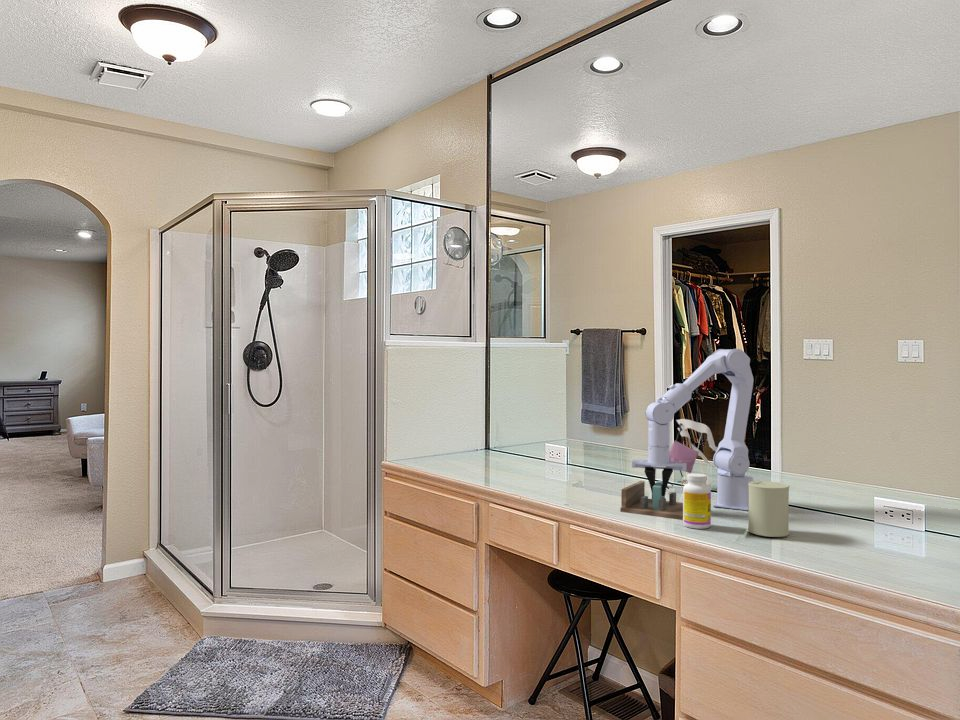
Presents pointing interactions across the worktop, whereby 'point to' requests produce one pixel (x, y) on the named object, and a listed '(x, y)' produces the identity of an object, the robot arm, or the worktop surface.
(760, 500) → the can
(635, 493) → the board
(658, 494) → the door panel
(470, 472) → the worktop surface
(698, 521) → the supplement bottle
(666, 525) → the worktop surface
